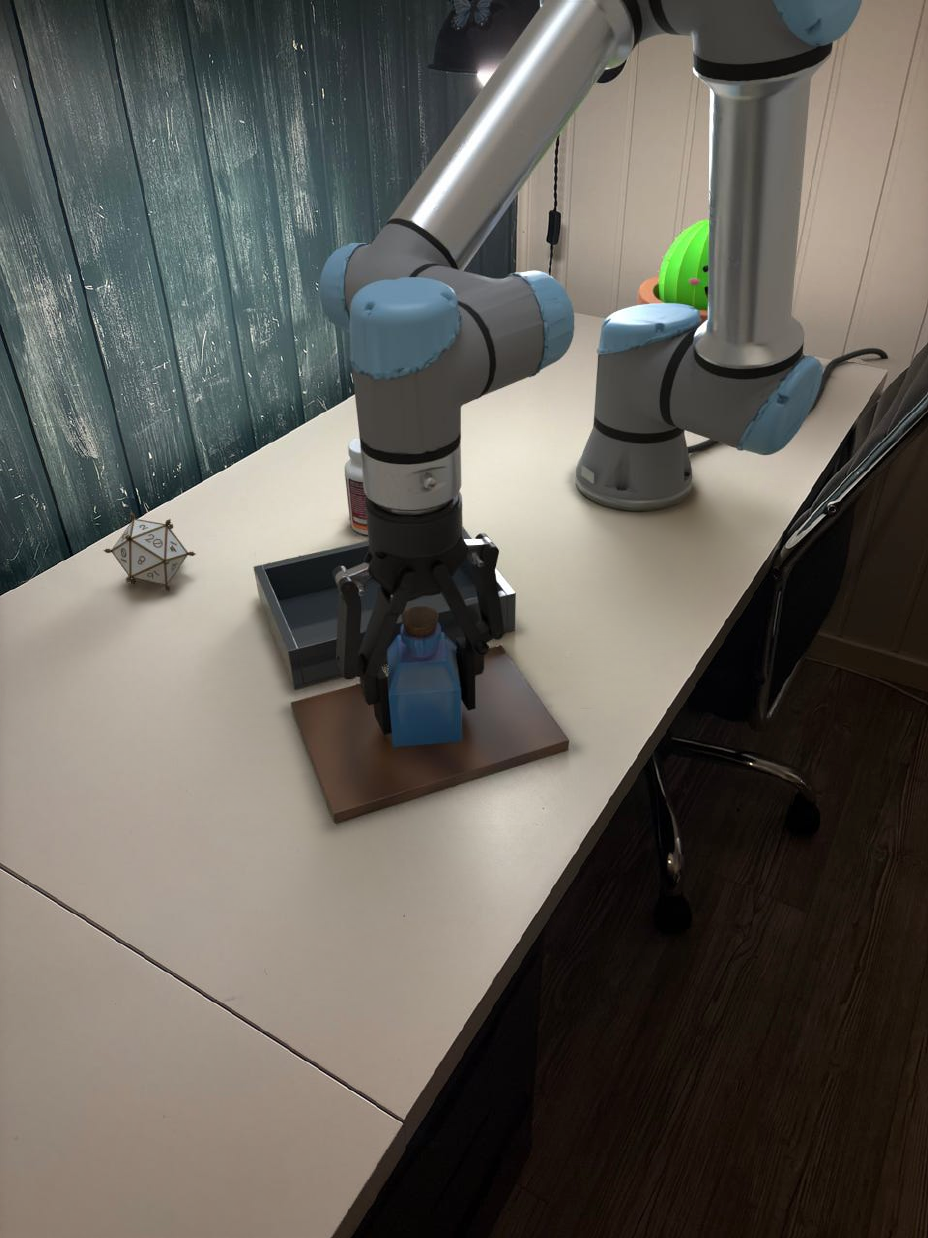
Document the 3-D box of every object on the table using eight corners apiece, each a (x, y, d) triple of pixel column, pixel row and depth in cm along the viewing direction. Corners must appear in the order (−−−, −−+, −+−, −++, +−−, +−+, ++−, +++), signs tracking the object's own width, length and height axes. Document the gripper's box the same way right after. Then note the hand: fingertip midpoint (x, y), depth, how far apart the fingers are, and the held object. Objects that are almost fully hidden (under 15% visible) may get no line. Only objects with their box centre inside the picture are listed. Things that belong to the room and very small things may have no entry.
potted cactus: (630, 348, 162) (644, 196, 147) (758, 352, 160) (785, 198, 145) (631, 399, 145) (647, 232, 130) (774, 404, 142) (807, 235, 127)
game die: (181, 601, 109) (221, 538, 105) (135, 619, 101) (176, 552, 98) (126, 552, 110) (164, 488, 106) (77, 566, 102) (115, 497, 98)
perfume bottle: (391, 700, 87) (382, 598, 80) (456, 696, 88) (453, 593, 80) (393, 746, 82) (384, 641, 75) (462, 741, 83) (459, 636, 75)
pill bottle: (408, 527, 115) (403, 447, 108) (365, 542, 112) (357, 461, 106) (384, 506, 119) (377, 428, 112) (341, 521, 116) (332, 441, 110)
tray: (458, 555, 109) (458, 520, 107) (515, 630, 98) (516, 592, 95) (260, 602, 102) (253, 566, 99) (294, 689, 90) (287, 651, 88)
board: (501, 653, 94) (501, 644, 94) (568, 749, 83) (569, 740, 83) (291, 711, 88) (290, 702, 87) (334, 823, 77) (333, 814, 76)
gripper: (295, 544, 65) (329, 771, 78) (553, 488, 71) (542, 708, 84) (272, 497, 70) (307, 716, 84) (512, 448, 76) (509, 660, 90)
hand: (425, 712), depth 84 cm, fingers closed on perfume bottle, 7 cm apart
